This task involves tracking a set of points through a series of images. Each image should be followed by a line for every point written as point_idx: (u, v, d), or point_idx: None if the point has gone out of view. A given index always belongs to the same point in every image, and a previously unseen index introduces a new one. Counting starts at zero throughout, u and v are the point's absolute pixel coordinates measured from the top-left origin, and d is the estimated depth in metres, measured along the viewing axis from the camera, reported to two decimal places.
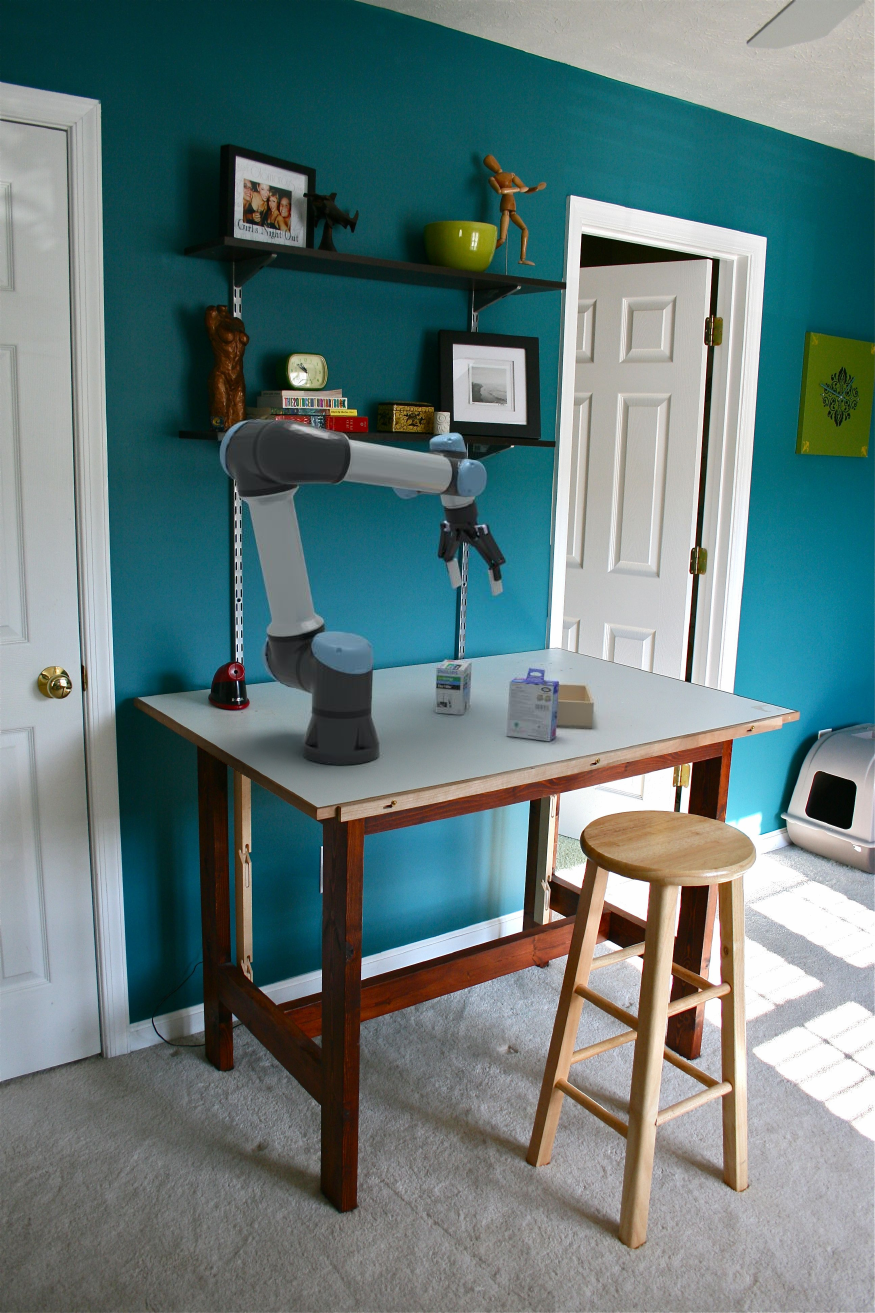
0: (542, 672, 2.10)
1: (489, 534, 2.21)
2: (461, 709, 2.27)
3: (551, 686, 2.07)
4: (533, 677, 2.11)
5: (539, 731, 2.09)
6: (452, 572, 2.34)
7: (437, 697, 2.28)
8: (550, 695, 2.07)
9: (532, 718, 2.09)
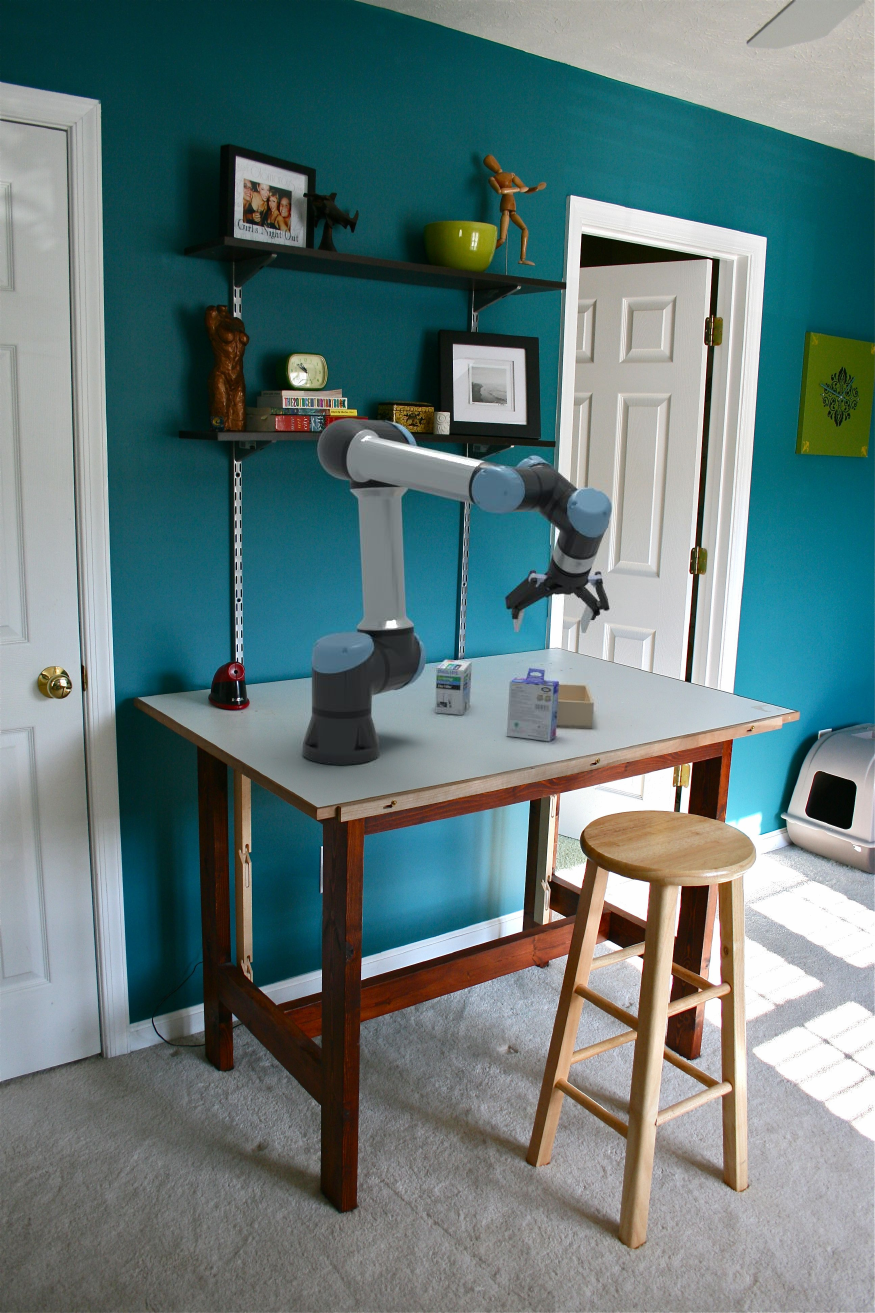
0: (542, 672, 2.10)
1: (527, 585, 1.84)
2: (461, 709, 2.27)
3: (551, 686, 2.07)
4: (533, 677, 2.11)
5: (539, 731, 2.09)
6: (584, 612, 1.95)
7: (437, 697, 2.28)
8: (550, 695, 2.07)
9: (532, 718, 2.09)
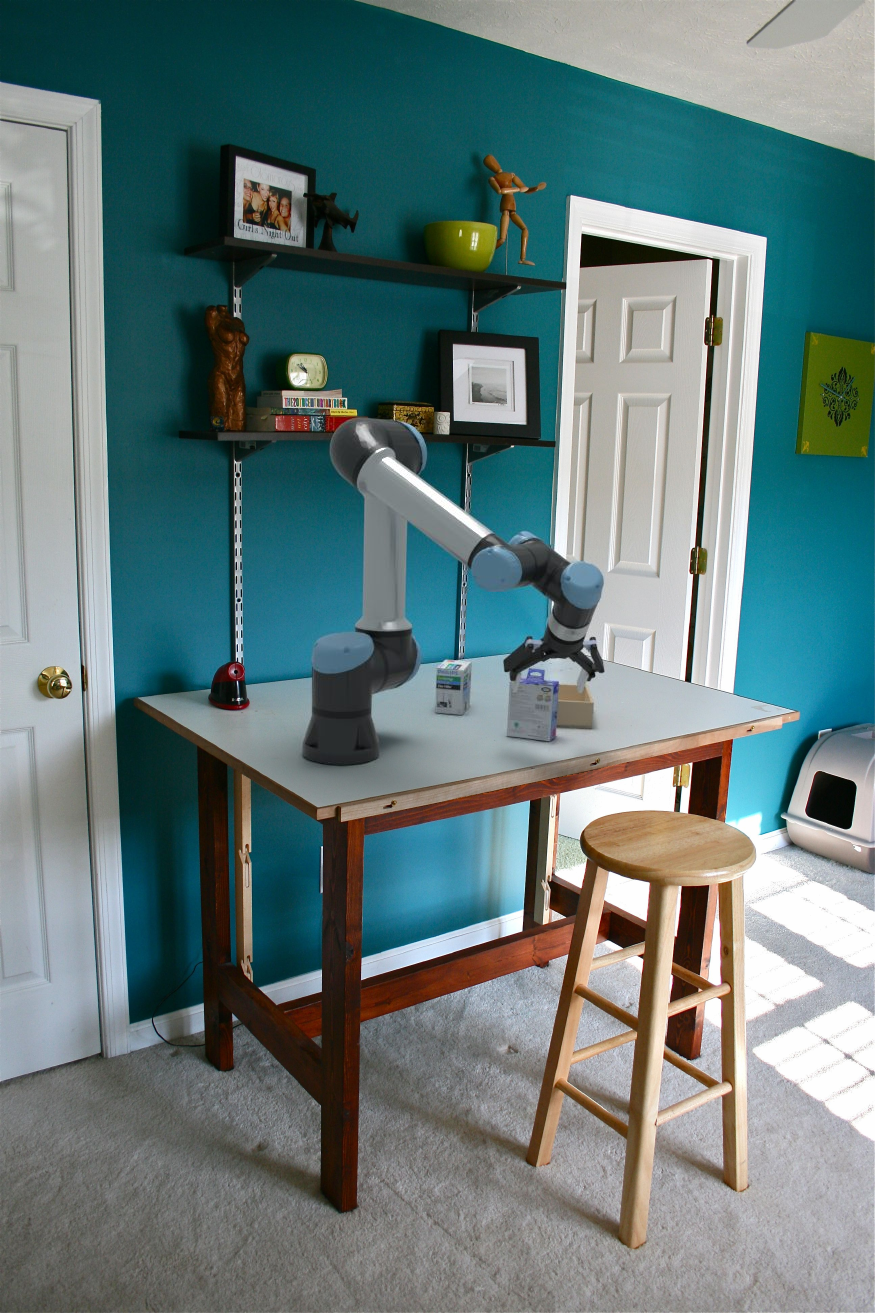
0: (542, 672, 2.10)
1: (524, 650, 1.91)
2: (461, 709, 2.27)
3: (551, 686, 2.07)
4: (533, 677, 2.11)
5: (539, 731, 2.09)
6: (580, 673, 2.01)
7: (437, 697, 2.28)
8: (550, 695, 2.07)
9: (532, 718, 2.09)
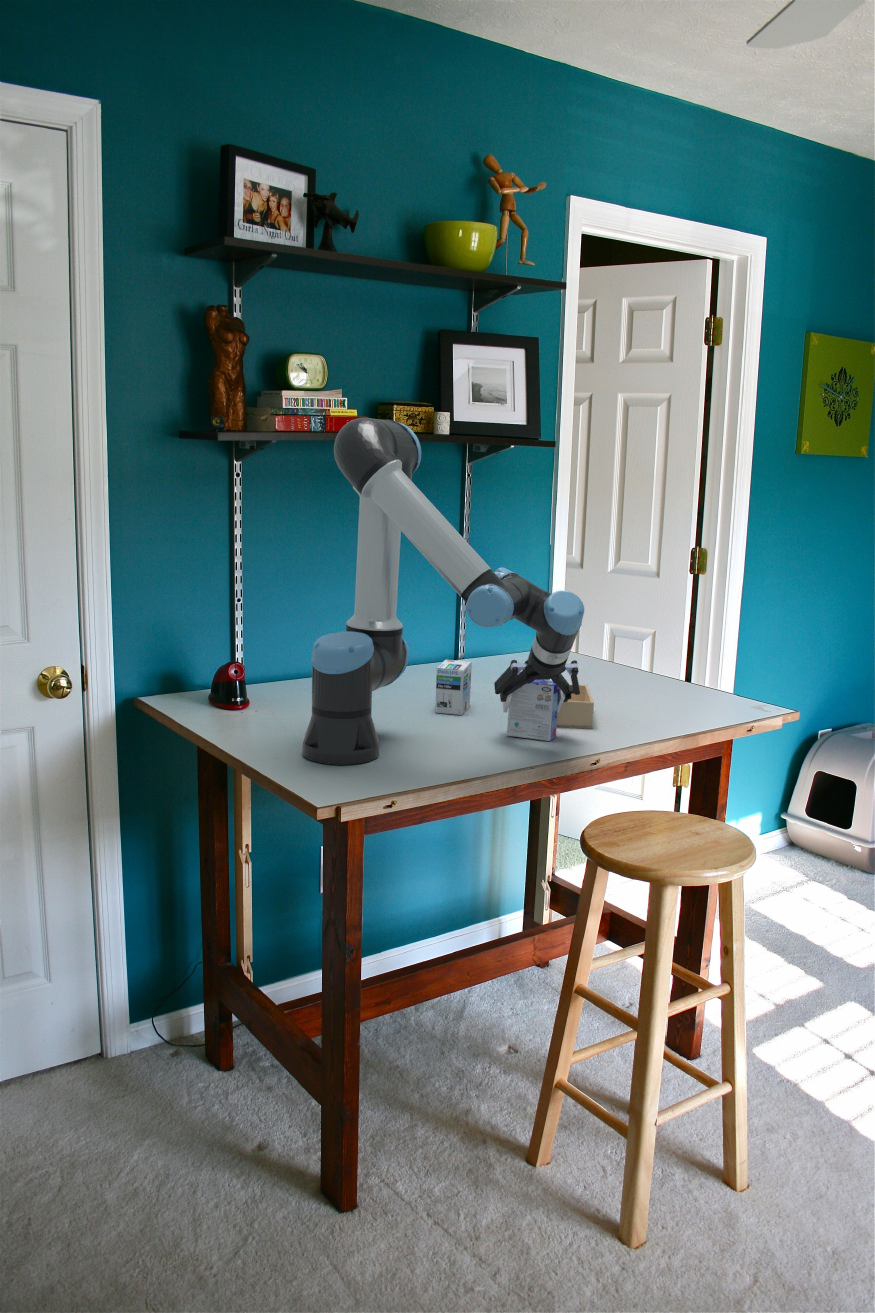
0: None
1: (510, 674, 2.01)
2: (461, 709, 2.27)
3: (551, 686, 2.07)
4: None
5: (539, 730, 2.09)
6: None
7: (437, 697, 2.28)
8: (550, 695, 2.07)
9: (533, 717, 2.09)
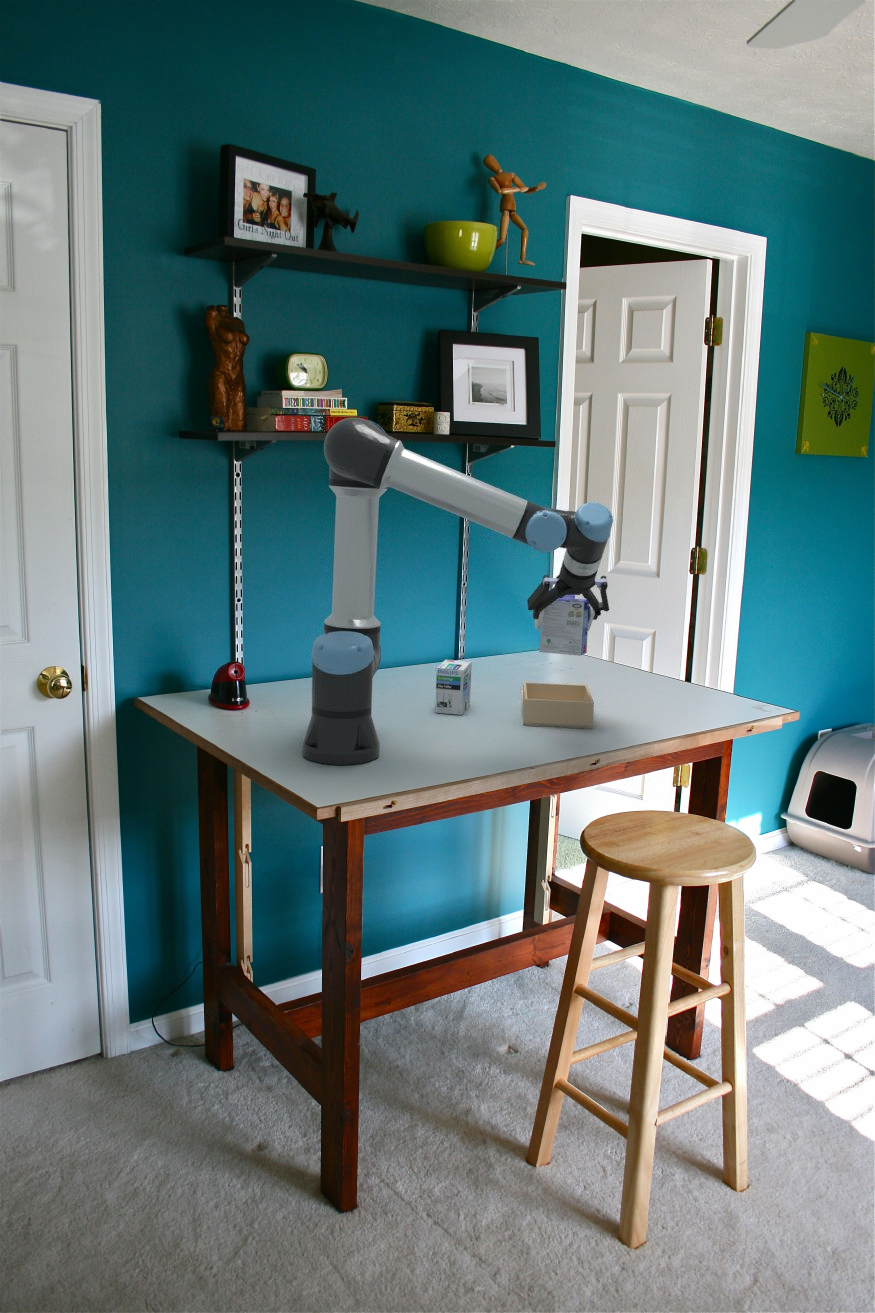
0: None
1: (542, 588, 2.11)
2: (461, 709, 2.27)
3: (582, 602, 2.17)
4: None
5: (570, 646, 2.19)
6: None
7: (437, 697, 2.28)
8: (581, 611, 2.17)
9: (564, 634, 2.19)
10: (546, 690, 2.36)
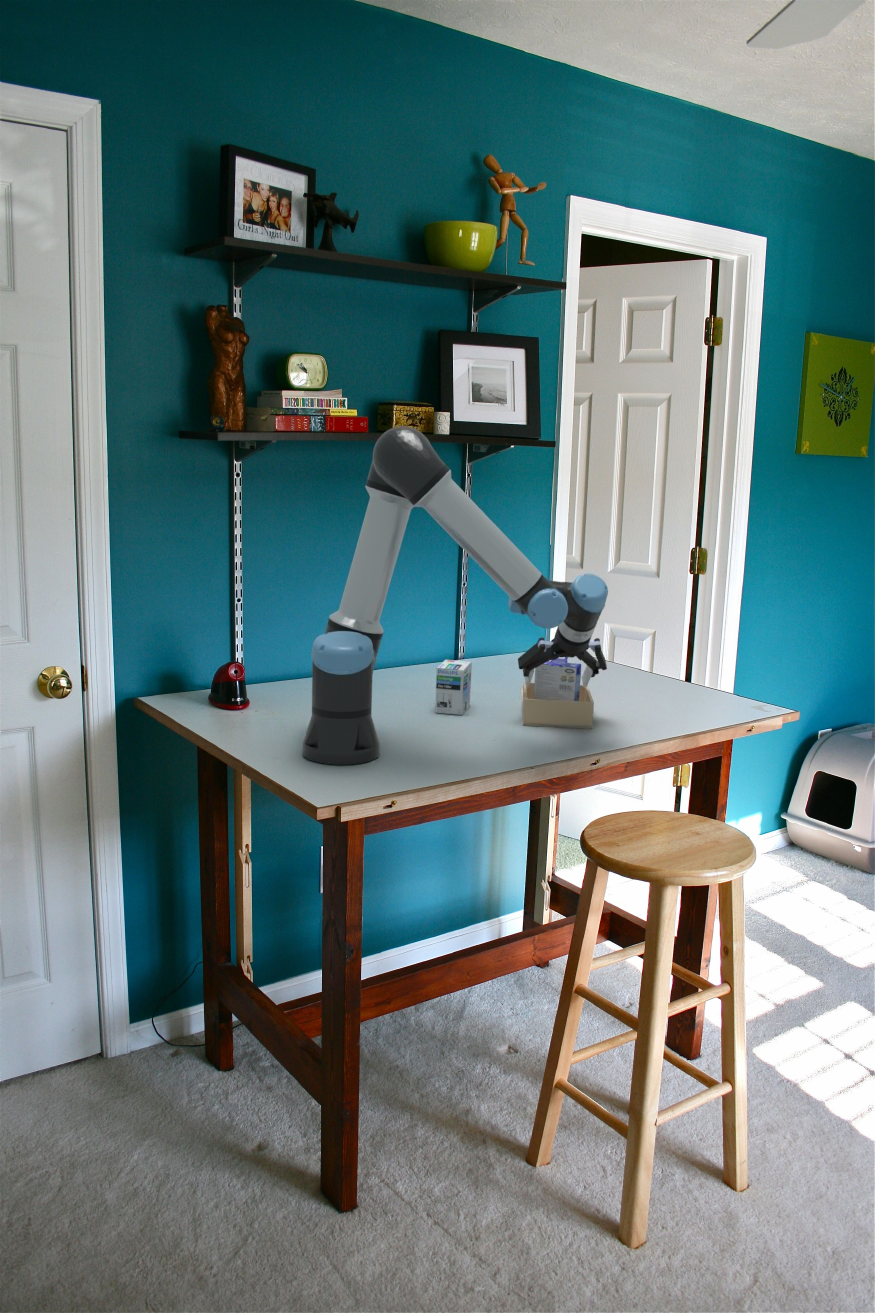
0: None
1: (537, 650, 2.17)
2: (461, 709, 2.27)
3: (574, 668, 2.23)
4: (557, 660, 2.27)
5: None
6: (585, 670, 2.27)
7: (437, 697, 2.28)
8: (573, 676, 2.23)
9: (557, 697, 2.25)
10: None
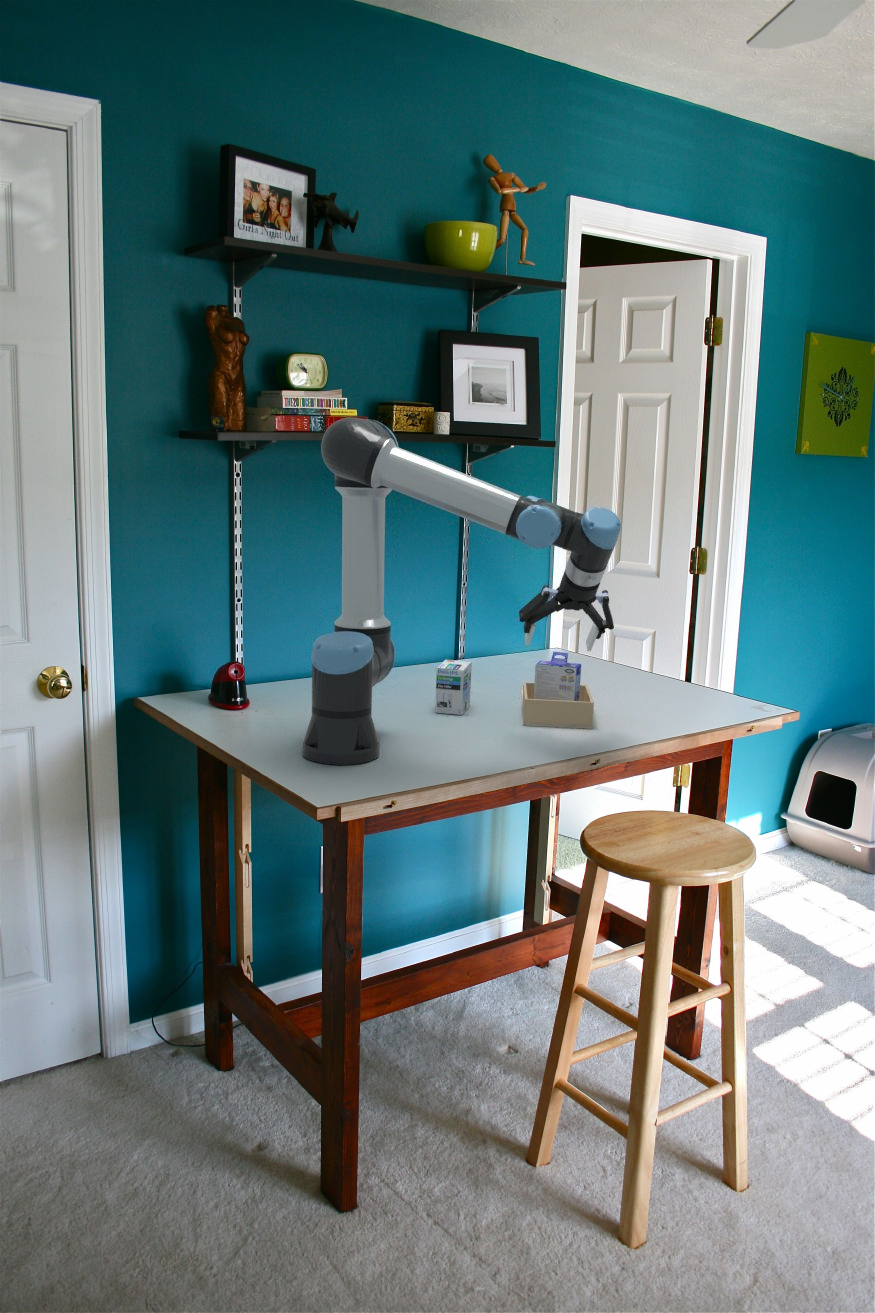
0: (565, 655, 2.26)
1: (540, 599, 2.02)
2: (461, 709, 2.27)
3: (574, 668, 2.23)
4: (557, 660, 2.27)
5: None
6: (590, 631, 2.12)
7: (437, 697, 2.28)
8: (573, 676, 2.23)
9: (557, 697, 2.25)
10: None
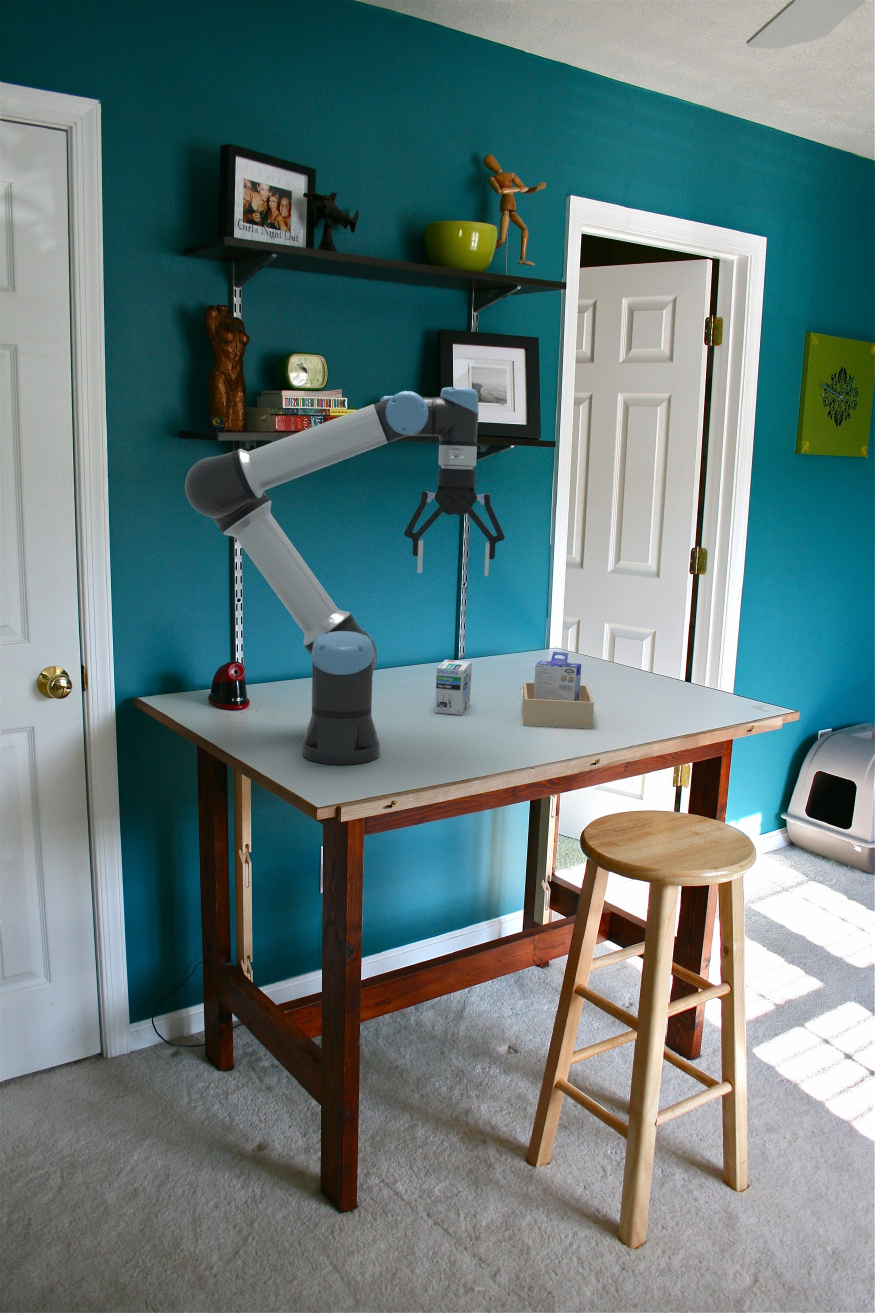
0: (565, 655, 2.26)
1: (420, 502, 1.99)
2: (461, 709, 2.27)
3: (574, 668, 2.23)
4: (557, 660, 2.27)
5: None
6: None
7: (437, 697, 2.28)
8: (573, 676, 2.23)
9: (557, 697, 2.25)
10: None
